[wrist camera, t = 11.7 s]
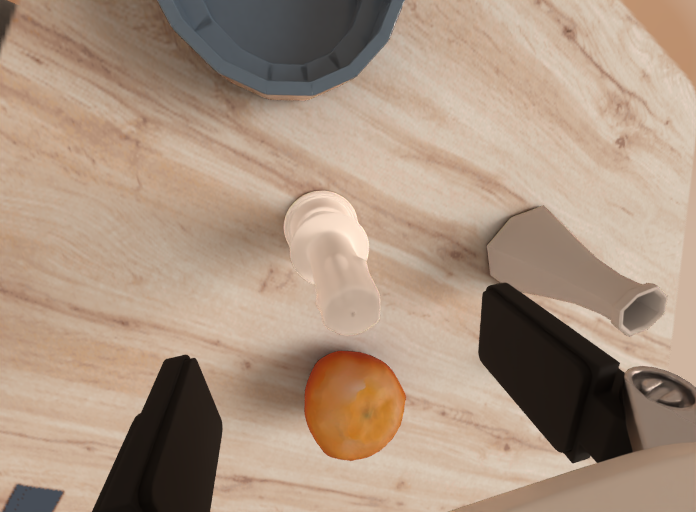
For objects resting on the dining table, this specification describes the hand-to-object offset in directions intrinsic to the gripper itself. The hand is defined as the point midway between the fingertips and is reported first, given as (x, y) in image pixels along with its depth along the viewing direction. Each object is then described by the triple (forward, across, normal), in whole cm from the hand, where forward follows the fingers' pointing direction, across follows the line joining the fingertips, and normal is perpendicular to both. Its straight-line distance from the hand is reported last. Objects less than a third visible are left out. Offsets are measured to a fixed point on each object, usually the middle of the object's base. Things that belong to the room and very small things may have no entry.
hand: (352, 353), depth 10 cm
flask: (+14, -18, +6) cm, 23 cm away
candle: (+14, -1, 0) cm, 14 cm away
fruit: (+14, -1, +14) cm, 20 cm away
